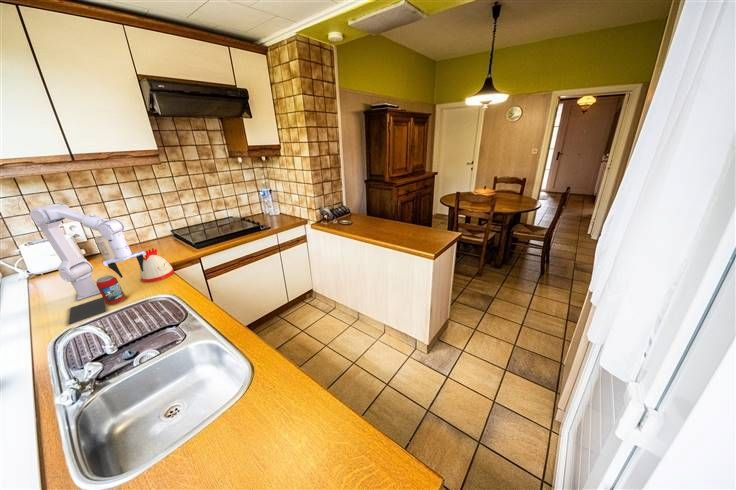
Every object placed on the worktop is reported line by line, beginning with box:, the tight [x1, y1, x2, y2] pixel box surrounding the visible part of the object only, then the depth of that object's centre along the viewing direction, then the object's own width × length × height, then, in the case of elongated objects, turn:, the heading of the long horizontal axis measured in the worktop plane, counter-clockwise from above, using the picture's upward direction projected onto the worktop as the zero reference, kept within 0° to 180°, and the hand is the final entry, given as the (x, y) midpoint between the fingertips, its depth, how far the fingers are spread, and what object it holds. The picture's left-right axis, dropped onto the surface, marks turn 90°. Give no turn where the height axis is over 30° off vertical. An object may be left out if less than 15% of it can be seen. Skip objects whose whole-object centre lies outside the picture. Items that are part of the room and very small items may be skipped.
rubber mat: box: [68, 296, 106, 325], centre depth 116 cm, size 16×11×1 cm
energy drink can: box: [94, 235, 115, 261], centre depth 165 cm, size 6×6×15 cm
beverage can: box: [96, 275, 126, 305], centre depth 119 cm, size 7×7×12 cm
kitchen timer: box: [139, 247, 175, 283], centre depth 140 cm, size 14×14×15 cm
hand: (132, 273), depth 123 cm, fingers open, 7 cm apart
